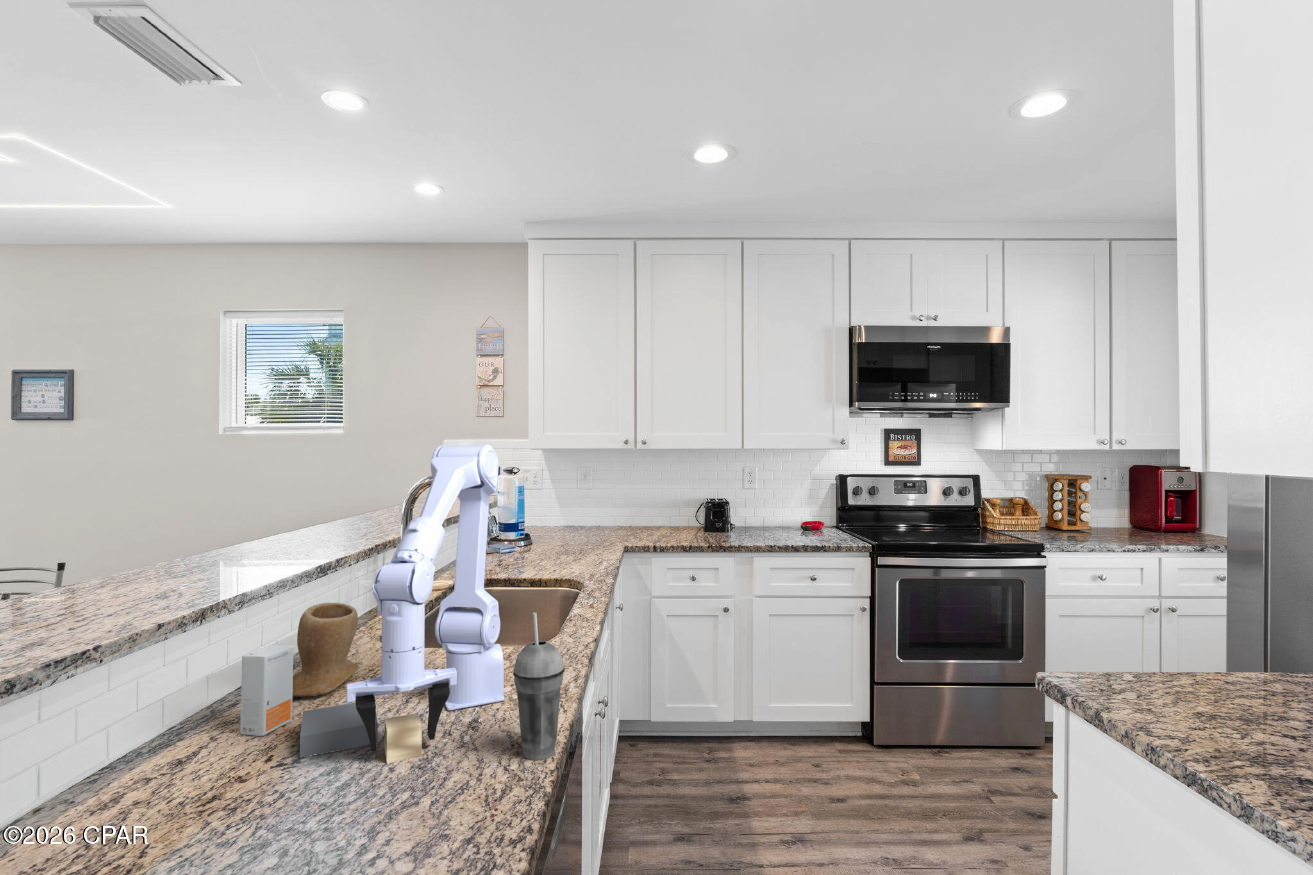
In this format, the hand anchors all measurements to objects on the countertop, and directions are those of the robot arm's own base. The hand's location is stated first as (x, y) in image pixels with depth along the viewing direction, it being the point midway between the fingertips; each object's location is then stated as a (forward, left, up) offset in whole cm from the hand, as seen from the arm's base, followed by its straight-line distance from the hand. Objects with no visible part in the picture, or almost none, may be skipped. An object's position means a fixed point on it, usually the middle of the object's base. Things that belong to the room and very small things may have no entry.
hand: (402, 742), depth 90 cm
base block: (+8, -10, -1) cm, 13 cm away
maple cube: (0, 0, -2) cm, 2 cm away
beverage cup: (-17, +9, -2) cm, 19 cm away
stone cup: (+10, -35, -2) cm, 36 cm away
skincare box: (+18, -19, -2) cm, 26 cm away
